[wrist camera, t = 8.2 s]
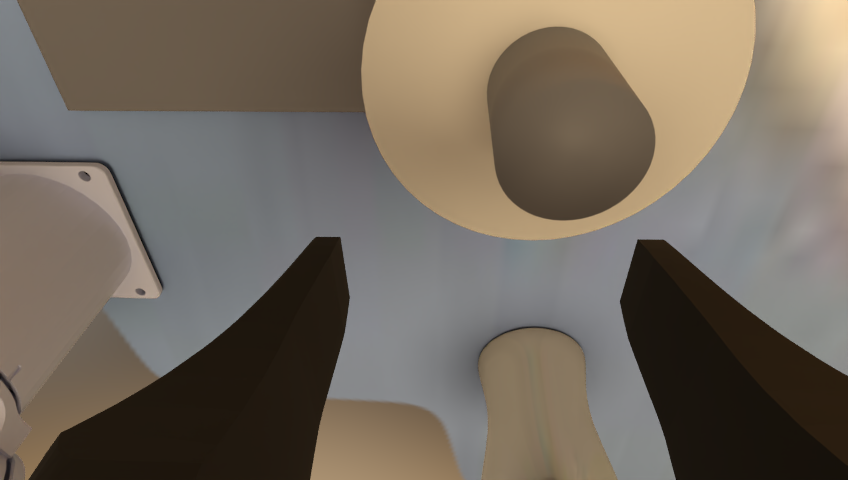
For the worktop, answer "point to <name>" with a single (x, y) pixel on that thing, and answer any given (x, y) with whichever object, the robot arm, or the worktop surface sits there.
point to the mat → (203, 53)
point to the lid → (550, 104)
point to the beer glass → (539, 410)
